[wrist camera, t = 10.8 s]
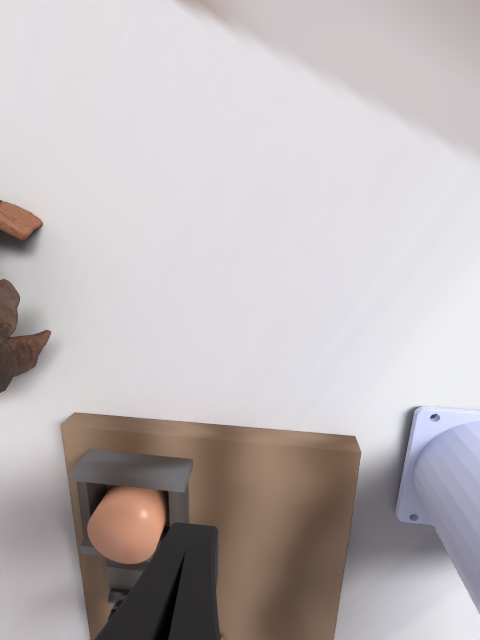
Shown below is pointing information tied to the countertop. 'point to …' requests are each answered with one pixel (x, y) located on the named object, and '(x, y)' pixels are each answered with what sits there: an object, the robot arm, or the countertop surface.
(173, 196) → the countertop surface
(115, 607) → the toggle lever
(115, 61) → the countertop surface
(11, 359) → the brown curved loop piece
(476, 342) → the countertop surface
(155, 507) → the push button
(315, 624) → the control panel
